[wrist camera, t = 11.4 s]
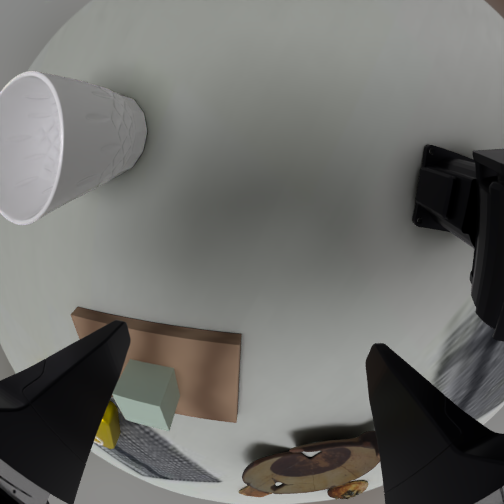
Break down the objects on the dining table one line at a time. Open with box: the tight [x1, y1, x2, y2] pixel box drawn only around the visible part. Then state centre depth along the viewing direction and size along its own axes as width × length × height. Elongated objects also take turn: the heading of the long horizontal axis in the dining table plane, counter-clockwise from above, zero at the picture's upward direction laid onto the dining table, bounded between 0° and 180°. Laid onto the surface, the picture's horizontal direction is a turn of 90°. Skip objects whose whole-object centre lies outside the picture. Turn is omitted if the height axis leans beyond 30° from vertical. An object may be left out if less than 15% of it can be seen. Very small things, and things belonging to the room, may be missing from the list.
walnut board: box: [71, 307, 241, 423], centre depth 26 cm, size 18×14×2 cm
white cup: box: [0, 71, 147, 225], centre depth 13 cm, size 8×8×10 cm
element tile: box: [94, 401, 120, 449], centre depth 33 cm, size 15×15×5 cm
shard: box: [239, 486, 272, 497], centre depth 45 cm, size 11×8×2 cm
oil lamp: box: [242, 431, 380, 494], centre depth 31 cm, size 22×30×8 cm
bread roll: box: [327, 480, 368, 499], centre depth 44 cm, size 11×11×5 cm
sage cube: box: [112, 359, 180, 431], centre depth 23 cm, size 5×5×5 cm
